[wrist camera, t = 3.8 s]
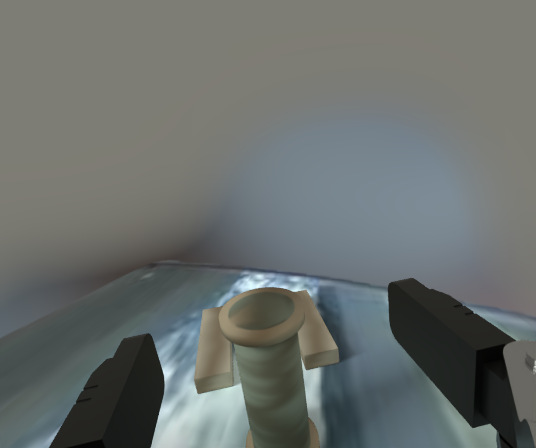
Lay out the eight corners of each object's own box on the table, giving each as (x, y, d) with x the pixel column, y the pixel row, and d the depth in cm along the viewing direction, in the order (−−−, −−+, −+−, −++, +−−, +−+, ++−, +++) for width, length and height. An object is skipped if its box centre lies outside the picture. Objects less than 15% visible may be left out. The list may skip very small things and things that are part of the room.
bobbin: (250, 497, 23) (217, 345, 19) (244, 422, 29) (219, 295, 25) (330, 476, 24) (315, 325, 20) (308, 407, 30) (293, 281, 26)
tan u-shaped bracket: (197, 393, 33) (194, 379, 33) (205, 321, 47) (203, 309, 46) (339, 362, 35) (338, 348, 34) (307, 300, 48) (306, 289, 48)
